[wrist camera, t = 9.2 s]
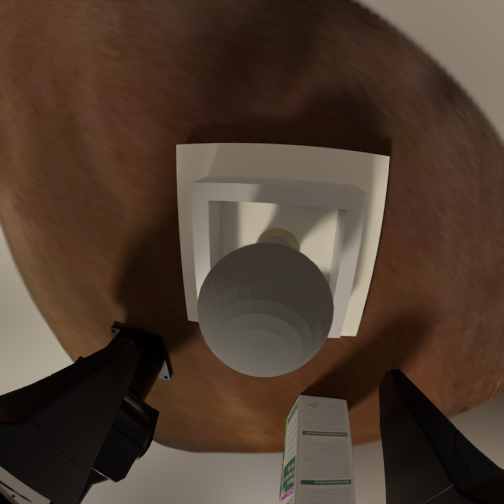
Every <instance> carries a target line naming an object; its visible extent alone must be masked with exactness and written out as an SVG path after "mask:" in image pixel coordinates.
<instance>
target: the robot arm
mask: <svg viewBox="0 0 504 504" xmlns="http://www.w3.org/2000/svg"><path fill="white" fill-rule="evenodd" d="M110 331H111V334H112V337H113V339H112V341H111V342H110V343H109V344H108V346H107V347H105V348H103V349H101V350H99V351H97V352H95V353H93V354H91V355H90V356H88V357H86V358H83V357H81V356H80V357H79V358H78V359H77V360H76V362H75V363H74V364H72V365H70V366H68V367H66V368H64V369H62V370H60V371H58V372H56V373H54V374H52V375H51V376H48V377H46V378H44V379H41V380H39V381H37V382H35V383H33V384H31V385H28V386H25V387H23V388H20V389H17V390H15V391H12V392H9V393H6V394H3V395H0V504H80V503H81V502H82V500H83V499H84V497H85V496H86V494H87V493H88V491H89V489H90V488H91V487H92V485H93V484H96V483H100V482H103V481H106V480H109V479H110V480H112V481H113V482H118V481H120V480H122V479H124V478H125V477H126V475H127V473H128V472H129V470H130V468H131V466H132V464H133V463H134V461H135V460H138V459H140V458H141V457H142V456H143V455H144V454H145V453H146V451H147V450H148V448H149V447H150V444H151V442H152V439H153V435H154V431H155V427H156V423H157V419H158V415H159V411H157V410H156V409H153V408H152V407H150V406H149V405H148V404H146V403H145V402H144V401H145V399H146V397H147V395H148V394H149V392H150V390H151V388H152V386H153V384H154V383H155V381H156V379H157V378H160V379H164V380H170V378H171V373H170V369H169V365H168V361H167V357H166V353H165V349H164V344H163V340H162V338H161V337H159V336H156V335H151V334H146V333H142V332H138V331H133V330H129V329H125V328H121V327H117V326H112V327H111V328H110ZM379 405H380V431H381V439H382V448H383V459H384V470H385V486H386V504H504V470H503V469H501V468H500V467H498V466H497V465H496V464H495V463H494V462H492V461H491V460H490V459H489V458H488V457H486V456H485V455H484V454H483V453H482V452H481V451H479V450H478V449H477V448H476V447H475V446H474V445H473V444H472V443H471V442H470V441H469V440H468V439H466V437H465V436H464V435H463V434H462V433H461V432H460V431H459V430H458V429H457V430H456V427H455V426H454V425H453V424H452V423H451V422H450V421H449V420H448V419H447V418H446V417H445V416H444V414H443V413H442V412H441V411H440V410H439V409H438V408H437V407H436V406H435V405H434V404H433V403H432V402H431V401H430V400H429V399H428V398H427V397H426V396H425V395H424V394H423V393H422V392H421V391H420V390H419V389H418V388H417V387H416V386H415V385H414V384H413V383H412V382H411V381H410V380H409V379H408V378H407V377H406V376H405V375H404V374H403V373H402V371H401V370H399V369H388V370H387V371H386V373H385V375H384V377H383V379H382V381H381V383H380V386H379Z"/></svg>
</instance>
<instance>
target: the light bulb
mask: <svg viewBox="0 0 504 504" xmlns="http://www.w3.org/2000/svg"><path fill="white" fill-rule="evenodd" d="M333 314H334V304H333V298H332V293H331V290H330V287H329V285H328V282H327V280H326V278H325V276H324V275H323V273H322V272H321V271H320V269H319V268H318V266H317V265H316V264H315V263H314V262H313V261H311V260H310V259H309V258H308V257H307V256H306V255H304V254H303V253H301V252H299V251H298V250H296V249H294V248H292V246H291V244H290V243H289V242H288V241H287V240H285V239H284V238H281V237H278V236H269V237H266V238H264V239H262V240H261V241H259V242H258V243H254V244H250V245H246V246H243V247H241V248H238V249H236V250H234V251H232V252H230V253H229V254H227V255H226V256H225V257H223V258H222V259H220V260H219V261H218V262H217V263H216V264H215V266H214V267H213V268H212V269H211V270H210V271H209V273H208V274H207V276H206V278H205V280H204V282H203V284H202V285H201V288H200V292H199V296H198V301H197V315H198V321H199V326H200V329H201V333H202V335H203V337H204V339H205V341H206V343H207V345H208V346H209V348H210V349H211V351H212V352H213V353H214V354H215V355H216V356H217V357H218V358H219V359H220V360H221V361H222V362H223V363H225V364H226V365H228V366H229V367H231V368H232V369H234V370H236V371H238V372H240V373H243V374H247V375H250V376H257V377H273V376H279V375H282V374H286V373H289V372H291V371H293V370H295V369H298V368H300V367H301V366H303V365H304V364H305V363H307V362H308V361H309V360H310V359H311V358H312V357H313V356H314V355H315V354H316V353H317V352H318V351H319V350H320V348H321V347H322V345H323V344H324V342H325V341H326V339H327V337H328V334H329V332H330V329H331V326H332V322H333Z"/></svg>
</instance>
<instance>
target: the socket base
mask: <svg viewBox="0 0 504 504" xmlns="http://www.w3.org/2000/svg"><path fill="white" fill-rule="evenodd" d="M389 158H390V157H389V156H384V155H377V154H371V153H364V152H357V151H350V150H341V149H333V148H323V147H312V146H299V145H283V144H258V143H207V144H182V145H176V161H177V196H178V217H179V233H180V247H181V259H182V270H183V281H184V290H185V299H186V308H187V316H188V320H189V321H195V322H199V321H198V315H197V301H198V296H199V292H200V288H201V285H202V284H203V282H204V280H205V278H206V276H207V274H208V273H209V271H210V270H211V269H212V268H213V267H214V266H215V264H216V263H217V262H218V261H219V260H220V259H222V258H223V257H225V256H226V255H227V254H229V253H230V252H232V251H234V250H236V249H238V248H241V247H243V246H246V245H250V244H254V243H258V242H259V241H261V240H262V239H264V238H266V237H269V236H278V237H281V238H284V239H285V240H287V241H288V242H289V243H290V244H291V246H292V248H294V249H296V250H298V251H299V252H301V253H303V254H304V255H306V256H307V257H308V258H309V259H310V260H311V261H313V262H314V263H315V264H316V265H317V266H318V268H319V269H320V271H321V272H322V273H323V275H324V276H325V278H326V280H327V282H328V285H329V287H330V290H331V293H332V298H333V304H334V314H333V322H332V326H331V329H330V332H329V334H328V337H329V338H340V336H356V334H357V331H358V327H359V324H360V320H361V317H362V313H363V309H364V306H365V302H366V298H367V294H368V290H369V286H370V281H371V277H372V272H373V268H374V263H375V258H376V253H377V248H378V243H379V237H380V231H381V225H382V219H383V212H384V205H385V197H386V189H387V180H388V170H389Z"/></svg>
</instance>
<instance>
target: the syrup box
mask: <svg viewBox="0 0 504 504" xmlns="http://www.w3.org/2000/svg"><path fill="white" fill-rule="evenodd" d="M279 504H355V481H354V466H353V453H352V443H351V434H350V424H349V416H348V408H347V401H346V400H342V399H335V398H325V397H316V396H306V395H299V397H298V399H297V401H296V403H295V404H294V406H293V408H292V410H291V412H290V414H289V416H288V418H287V419H286V428H285V442H284V454H283V465H282V476H281V486H280V495H279Z"/></svg>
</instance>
